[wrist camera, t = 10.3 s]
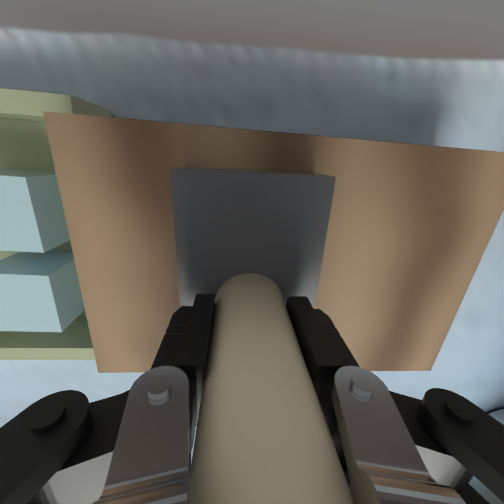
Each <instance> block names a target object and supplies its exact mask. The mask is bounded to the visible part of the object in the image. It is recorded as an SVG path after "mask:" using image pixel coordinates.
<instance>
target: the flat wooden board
mask: <svg viewBox="0 0 504 504" xmlns="http://www.w3.org/2000/svg"><path fill="white" fill-rule="evenodd" d="M43 115H44V120H45V125H46V129H47V134H48V139H49V143H50V148H51V153H52V157H53V162H54V167H55V171H56V176H57V181H58V186H59V190H60V195H61V200H62V204H63V209H64V214H65V218H66V223H67V228H68V232H69V237H70V242H71V247H72V251H73V256H74V261H75V265H76V270H77V275H78V279H79V284H80V289H81V293H82V298H83V303H84V308H85V312H86V317H87V322H88V326H89V331H90V336H91V340H92V345H93V350H94V354H95V359H96V364H97V369H98V373H103V372H147V371H149V370H150V369H151V367H152V364H153V362H154V359H155V357H156V354H157V352H158V349H159V347H160V344H161V342H162V339H163V337H164V335H165V332H166V330H167V327H168V326H169V322H170V320H171V317H172V315H173V313H174V312H176V311H177V310H178V309H179V308H180V297H179V283H178V269H177V256H176V242H175V228H174V214H173V201H172V187H171V173H170V169H173V168H181V167H195V168H216V169H237V170H259V171H280V172H301V173H317V174H323V175H329V176H335V177H336V181H335V187H334V193H333V199H332V205H331V211H330V217H329V223H328V229H327V235H326V241H325V247H324V253H323V259H322V265H321V271H320V277H319V283H318V289H317V295H316V301H315V307H314V309H321V310H322V311H323V312H324V313H325V314H327V315H328V316H329V317H330V318H331V320H332V322H333V323H334V325H335V328H337V330H338V332H339V333H340V336H341V337H342V338H343V340H344V342H345V343H346V345H347V347H348V348H349V350H350V352H351V353H352V355H353V357H354V358H355V360H356V362H357V363H358V365H359V366H360V368H363V369H366V370H368V371H431V369H432V366H433V364H434V362H435V360H436V357H437V355H438V353H439V351H440V349H441V346H442V344H443V342H444V340H445V338H446V335H447V333H448V331H449V329H450V327H451V324H452V322H453V320H454V318H455V315H456V313H457V311H458V309H459V307H460V304H461V302H462V300H463V298H464V296H465V293H466V291H467V289H468V287H469V284H470V282H471V280H472V278H473V276H474V273H475V271H476V269H477V267H478V265H479V262H480V260H481V258H482V256H483V254H484V251H485V249H486V247H487V245H488V242H489V240H490V238H491V236H492V234H493V231H494V229H495V227H496V225H497V223H498V220H499V218H500V216H501V214H502V212H503V209H504V152H495V151H484V150H473V149H461V148H450V147H439V146H428V145H417V144H405V143H394V142H383V141H372V140H361V139H349V138H338V137H327V136H316V135H305V134H293V133H282V132H271V131H260V130H249V129H237V128H226V127H215V126H204V125H192V124H181V123H170V122H159V121H148V120H136V119H125V118H114V117H103V116H92V115H80V114H69V113H58V112H47V111H43Z"/></svg>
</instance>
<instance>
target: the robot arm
mask: <svg viewBox="0 0 504 504" xmlns="http://www.w3.org/2000/svg"><path fill="white" fill-rule="evenodd" d="M286 308H287V311H288V314H289V317H290V319H291V322H292V325H293V328H294V331H295V334H296V337H297V340H298V343H299V345H300V348H301V351H302V354H303V357H304V360H305V363H306V366H307V368H308V371H309V374H310V377H311V380H312V383H313V386H314V389H315V391H316V394H317V397H318V400H319V403H320V406H321V409H322V412H323V414H324V417H325V420H326V423H327V426H328V429H329V432H330V435H331V438H332V440H333V443H334V446H335V449H336V452H337V455H338V458H339V461H340V463H341V466H342V469H343V472H344V475H345V478H346V481H347V484H348V486H349V489H350V492H351V496H352V499H353V503H354V504H490V503H488V502H487V501H486V500H485V499H484V498H483V497H482V496H481V495H480V494H479V493H478V492H477V491H476V490H475V489H474V488H473V487H472V486H470V485H469V484H468V483H469V482H470V480H471V479H472V477H473V476H475V477H476V478H477V479H478V480H479V481H480V482H482V483H483V484H484V485H485V486H486V487H487V488H488V489H489V490H490V491H491V492H493V493H494V494H495V495H496V496H497V497H498V498H499V499H500V500H501V501H502V502H503V503H504V409H501V410H497V411H494V412H491V413H489V414H487V413H486V412H485V411H483V410H482V409H480V408H479V407H478V406H476V405H475V404H473V403H472V402H470V401H469V400H467V399H466V398H464V397H462V396H460V395H458V394H456V393H454V392H451V391H449V390H445V389H440V388H433V389H430V390H428V391H427V392H426V393H425V395H424V397H423V400H419V399H416V398H412V397H408V396H405V395H401V394H398V393H394V392H391V391H389V390H388V388H387V387H386V385H385V384H384V383H383V382H382V381H381V380H380V379H379V378H378V377H377V376H376V375H374V374H373V373H371V372H370V371H368V370H366V369H363V368H360V366H359V365H358V363H357V362H356V360H355V358H354V357H353V355H352V353H351V352H350V350H349V348H348V347H347V345H346V343H345V342H344V340H343V338H342V337H341V336H340V333H339V332H338V330H337V328H335V325H334V323H333V322H332V320H331V318H330V317H329V316H328V315H327V314H325V313H324V312H323V311H322V310H321V309H314V308H313V307H312V305H311V303H310V301H309V299H308V297H307V296H288V298H287V302H286ZM214 309H215V294H201V293H197V294H196V296H195V300H194V303H193V306H181V307H180V308H179V309H178V310H177V311H176V312H174V313H173V315H172V317H171V320H170V322H169V326H168V327H167V330H166V332H165V335H164V337H163V339H162V342H161V344H160V347H159V349H158V352H157V354H156V357H155V359H154V362H153V364H152V367H151V369H150V370H149V371H147V372H145V373H144V374H142V375H141V376H140V377H139V378H138V379H137V380H136V381H135V382H134V383H133V385H132V387H131V388H130V390H128V391H126V392H124V393H122V394H119V395H116V396H113V397H109V398H106V399H102V400H99V401H95V402H92V403H89V401H88V399H87V397H86V396H85V394H83V393H82V392H79V391H74V390H66V391H60V392H57V393H53V394H51V395H48V396H46V397H44V398H42V399H40V400H38V401H36V402H35V403H33V404H32V405H30V406H29V407H27V408H26V409H25V410H23V411H22V412H21V413H20V414H18V415H17V416H16V417H14V418H13V419H12V420H10V421H9V422H8V423H6V424H5V425H4V426H2V427H1V428H0V504H189V478H190V471H191V450H192V447H193V441H194V434H195V428H196V426H197V422H198V415H199V409H200V402H201V395H202V390H203V387H204V382H205V374H206V367H207V360H208V353H209V345H210V338H211V331H212V324H213V317H214Z"/></svg>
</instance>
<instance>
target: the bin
mask: <svg viewBox="0 0 504 504" xmlns="http://www.w3.org/2000/svg"><path fill="white" fill-rule="evenodd" d="M43 111H47V112H58V113H69V114H80V115H92V116H103V117H112V115H111V111H109V110H107V109H104V108H102V107H99V106H97V105H94V104H92V103H89V102H87V101H84V100H82V99H79V98H76V97H74V96H71V95H67V94H56V93H46V92H35V91H25V90H15V89H4V88H0V168H17V169H30V170H43V171H55V167H54V162H53V157H52V153H51V148H50V143H49V139H48V134H47V129H46V125H45V120H44V115H43ZM55 172H56V171H55ZM53 249H60V250H72V247H71V242H70V240H69V241H67V242H65V243H63V244H61V245H59V246H57V247H55V248H53ZM18 252H19V251H0V260H1V259H4V258H6V257H8V256H11V255H13V254H15V253H18ZM0 360H96V359H95V354H94V350H93V345H92V340H91V336H90V331H89V326H88V322H87V317H86V312H85V310H84V311H83V312H82V313H81V314H80V315H79V316H78V317H77V318H76V319H75V320H74V321H73V322H72V323H71V324H70V325H69V326H68V327H67V328H66V329H65V330H64V331H63V332H24V331H0Z"/></svg>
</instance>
